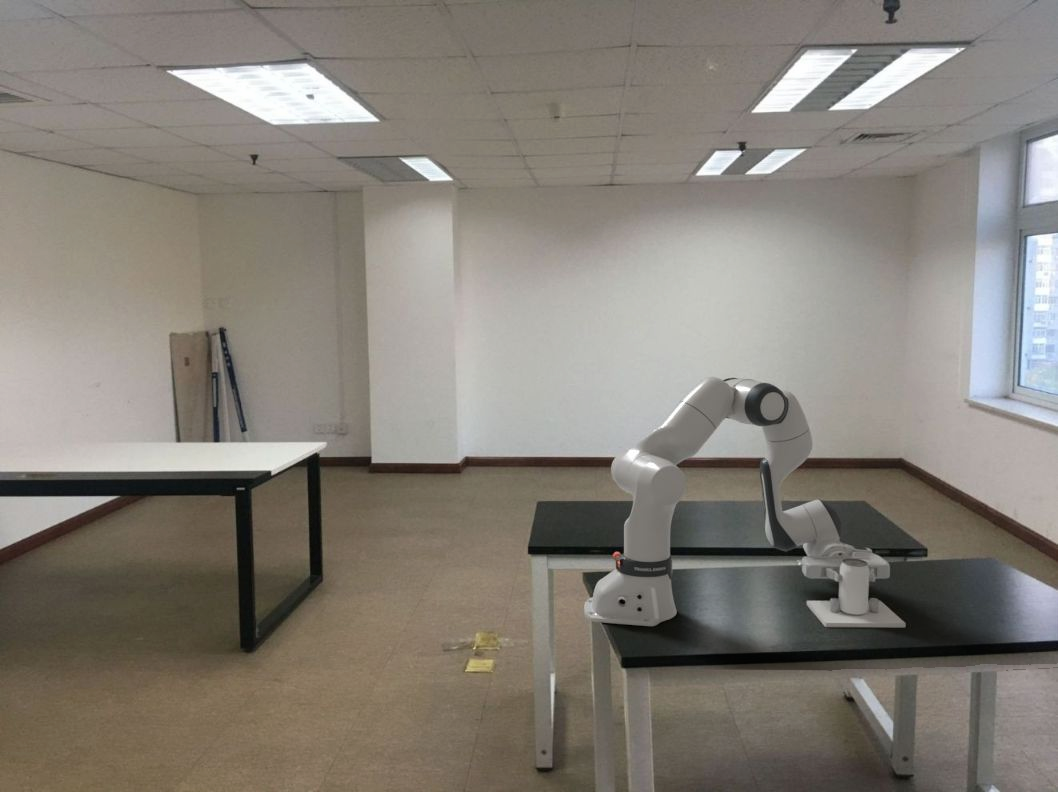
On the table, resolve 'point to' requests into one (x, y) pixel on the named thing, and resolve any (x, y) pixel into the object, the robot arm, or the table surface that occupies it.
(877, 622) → the pin plate
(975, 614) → the table surface
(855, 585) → the can
